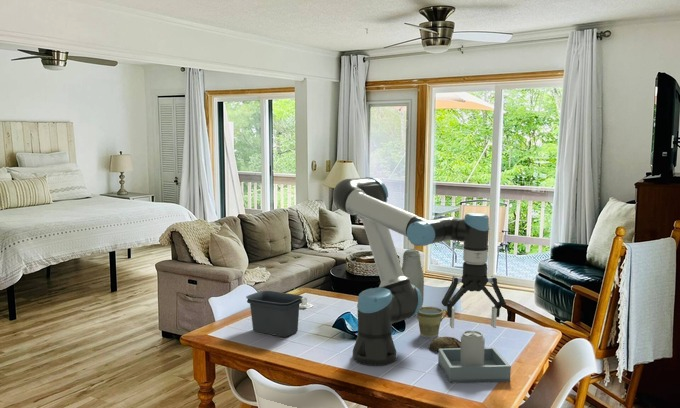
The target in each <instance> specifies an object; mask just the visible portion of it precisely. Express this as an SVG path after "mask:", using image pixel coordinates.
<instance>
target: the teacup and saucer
mask: <svg viewBox="0 0 680 408" xmlns="http://www.w3.org/2000/svg"><path fill="white" fill-rule="evenodd" d="M301 300H302V303H301V304H299V309H310V308H312V307H313V306H314V305H313V304H311V303H308V297H305V296H303V298H302V299H301ZM307 305H308V306H307Z"/></svg>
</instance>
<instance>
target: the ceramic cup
mask: <svg viewBox="0 0 680 408" xmlns="http://www.w3.org/2000/svg"><path fill="white" fill-rule="evenodd" d="M444 312H445V314H444V315H443V313H444ZM446 316H447V309H442V308H439V307H437V306H436V307H435V306H422V307H421V308H420V310H419V312H418V313H417V314H416V317H417V320H418V321H417V322H418V327H419V333H420V334H419V335H420V336H421V337H423V338H426V339H436V338H438V336H439V331H440V326H441V323H442V321H443V320H444V319H445V318H446Z"/></svg>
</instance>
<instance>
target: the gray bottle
mask: <svg viewBox="0 0 680 408" xmlns="http://www.w3.org/2000/svg"><path fill="white" fill-rule="evenodd" d="M402 255H403V256H402V265H401V268H402V271H403V275H404V276H406V277H408V278H409V280H410V283H411V284H412V285H414V286H415V287H416V288H418V289H419V291H420V293H421V296H422V305H421V307H423V304H424V298H425V297H424V295H425V294H424V290H425V276H424V271H423V268H422V262H421V254H420V251H419V250H418V249H416V248H415V249H414V248H408V249H406V250H405V251H404V253H403V254H402Z"/></svg>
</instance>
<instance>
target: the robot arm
mask: <svg viewBox="0 0 680 408" xmlns="http://www.w3.org/2000/svg"><path fill="white" fill-rule="evenodd" d="M388 198H389V192H388V188H387V186H386V184H385V183H384V182H383V181H382V180H381V179H379V178H376V177H368V176H367V177H360V178H358V177H357V178H345V179H343V180H341V181H340V182H337V184H336V185H335V187H334V189H333V191H332V200H333V203H334V204H335V206H336V207H337V208H338V209H339V210H340V211H342V212H344V213H346V214H348V215H351V216H356V218H357V219H359V220H361V221H362V224H363V228H364V231H365V233H366V237H367V241H368V244H369V247H370V249H371V250H370V251H371V253H372V257H373V260H374V263H375V266H376V270H377V273H378V276H379V279H380V284H379V286H378V287H374V288H373V287H370V288H367V289H365V290H362V291H361V292H360V293H359V294H358V298H357V305H356V308H357V337H356V339H355V342H354V346H353V349H352V360H354V361H355V362H356V363H359V364H361V365H364V366H365V365H366V366H377V367H378V366H386V365H389V364H392V363H394V362H395V361H396V360H397V349H396V346H395V343H394V339H393V338H392V337H393V336H392V324H394V323H398V322H401V321H403V320H404V321H405V320H407V319H411V318H412V317H414V316H417V313H418V312H419V310H420V308H421V305H422V296H421V293H420V291H419V289H418V288H416V287H415V286H414V285H412V284H411V283H410V280H409V278H408V277H406V276H404V275H403V271H402V265H401V262H400V260H399V256H398V254H397V250H396V246H395V244H394V243H395V242H394V241H393V240H394V239H393V237H392V234H391V231H392V232H395V233H398V234H400V235H403V236H405V237H406V238H407V240H408V241H409V242H410V244H412V245H413V246H415V247H419V246H421V247H425V246H428V245H433V244H437V243H441V242H446V241H447V242H448V241H456V242H461V243H462V242H463V253H462V254H463V255H462V259H463V262H462V276H461V277H457V276H455V275H453V276H452V280H451V284H450V285H449V286H448V289H447V291H446V292H445V295H444V296H443V298H442V299H441V305H443V307H446V311H447V315H446V316H447V318H449V327H450V328H451V329H455V310H456V309H455V307H454V306H455V305H456V304H457V303H458V301H459V300H460V299H461V298H462V297H463V296H464V294H466V293H467V292H468V291H469V292H481V291H482V292H483V293H484V294H485V295H486V296H487V298H488V299H489V300H490V301H491V302H492V304H493V305H492V306H491V316H490V317H491V318H490V325H491V327H492V328H493V329H496V328H497V318H500V309H501V308H502V307H506V305H507V303H506V300H505V298H504V296H503V294H502V292H501V290H500V288H499V285H498V280H497V278H496V277H495V276H494V275H492V276H491V277H488V255H489V254H488V252H489V251H488V250H489V235H490V233H489V231H490V223H489V222H490V218H489V216H488V214H486V213H481V212H478V213H477V212H468V213H466V214H465V215H464V218H461V217H453V216H448V215H436V216H434V218H431V219H427V218H424V217H421V216H418V215H417V214H414V213H412V212H409V211H407V210H404V209H402V208H400V207H396V206H394V205H393V204H390V203H387V202H388ZM460 283H461V284H462V285H461V286H460V288H459V289H458V291H457V292H456V293H455V294H454V292H455V291H456V289H457V287H458V285H459V284H460ZM488 283H489V284H490V285H491V287H492V288H493V290H494V293H495V296H496V298H497V299H498V300H497V299H496V298H495V297H494V295H492V293H491V292H490V291H489V289H488V288H487V287H486V285H487V284H488ZM453 294H454V295H453ZM422 306H423V305H422Z"/></svg>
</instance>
